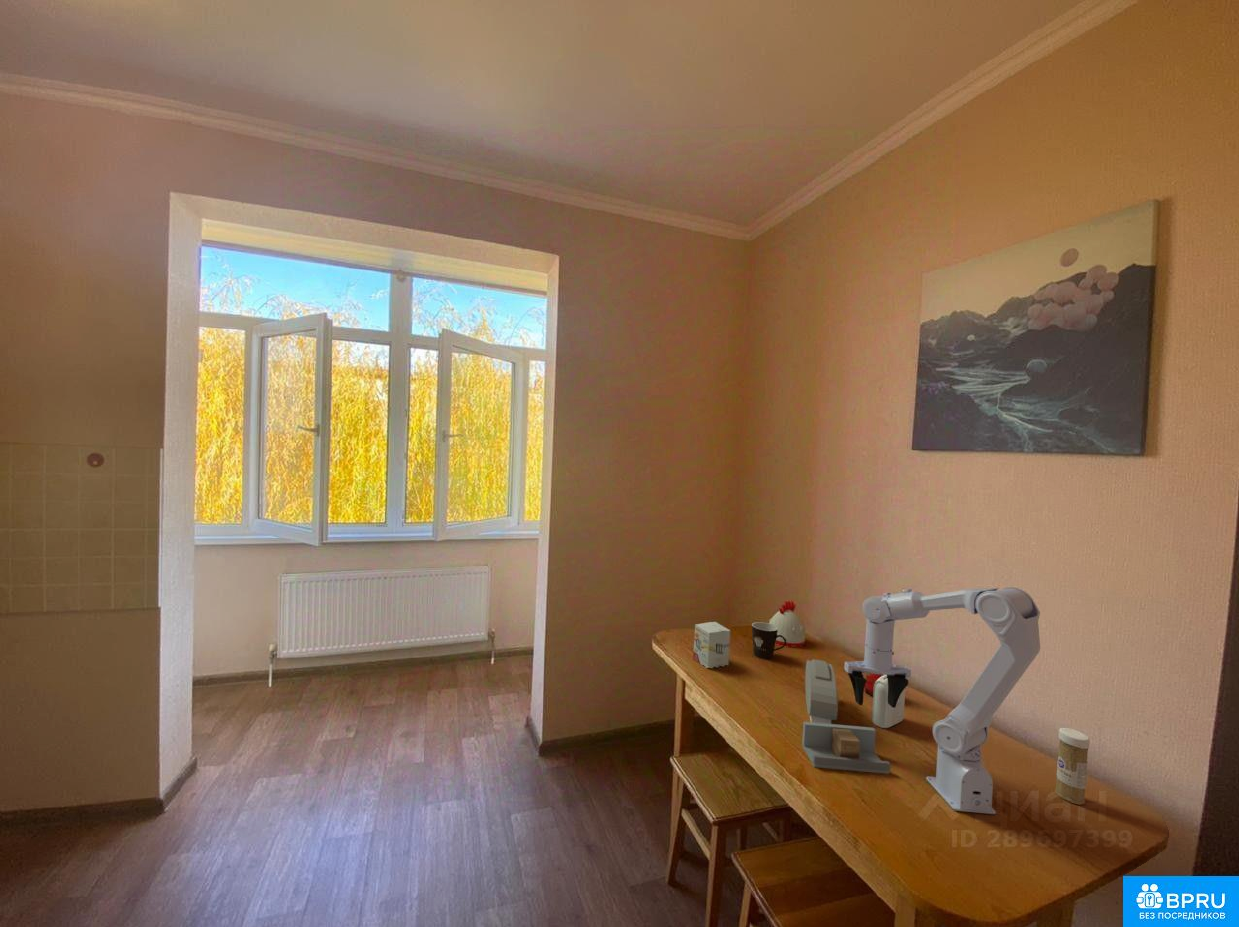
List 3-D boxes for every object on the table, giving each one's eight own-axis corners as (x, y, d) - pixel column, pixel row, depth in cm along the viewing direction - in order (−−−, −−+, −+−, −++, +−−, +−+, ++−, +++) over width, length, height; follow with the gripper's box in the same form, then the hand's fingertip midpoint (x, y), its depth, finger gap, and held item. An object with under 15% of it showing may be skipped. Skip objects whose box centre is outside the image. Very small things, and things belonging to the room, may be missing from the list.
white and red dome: (812, 644, 176) (815, 604, 176) (787, 650, 169) (790, 608, 169) (782, 631, 188) (785, 594, 188) (758, 636, 181) (760, 597, 181)
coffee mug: (745, 651, 165) (747, 622, 165) (766, 649, 168) (768, 621, 168) (765, 665, 154) (766, 634, 154) (787, 663, 157) (788, 633, 157)
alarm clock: (836, 738, 114) (839, 685, 114) (809, 732, 116) (812, 680, 116) (827, 695, 136) (829, 651, 136) (804, 690, 138) (806, 647, 138)
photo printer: (889, 713, 128) (892, 667, 128) (906, 720, 124) (908, 674, 124) (868, 722, 122) (871, 675, 122) (885, 731, 118) (888, 682, 118)
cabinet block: (859, 765, 103) (860, 742, 103) (840, 763, 103) (841, 740, 103) (849, 751, 107) (850, 729, 107) (831, 750, 108) (832, 728, 108)
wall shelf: (889, 773, 101) (891, 747, 101) (814, 766, 102) (815, 741, 102) (872, 751, 109) (873, 727, 109) (802, 745, 110) (803, 721, 110)
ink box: (692, 658, 156) (694, 623, 156) (713, 655, 160) (715, 620, 160) (707, 669, 148) (709, 632, 148) (729, 666, 152) (731, 629, 152)
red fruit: (879, 688, 142) (882, 639, 142) (898, 700, 135) (902, 648, 135) (858, 690, 140) (861, 640, 140) (877, 702, 133) (880, 649, 133)
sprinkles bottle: (1049, 790, 99) (1052, 726, 99) (1068, 790, 99) (1072, 726, 99) (1072, 806, 94) (1076, 739, 94) (1092, 805, 95) (1096, 739, 95)
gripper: (900, 642, 115) (896, 698, 115) (840, 638, 116) (836, 693, 116) (917, 654, 108) (913, 713, 108) (853, 649, 109) (850, 708, 109)
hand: (875, 704), depth 111 cm, fingers open, 7 cm apart
